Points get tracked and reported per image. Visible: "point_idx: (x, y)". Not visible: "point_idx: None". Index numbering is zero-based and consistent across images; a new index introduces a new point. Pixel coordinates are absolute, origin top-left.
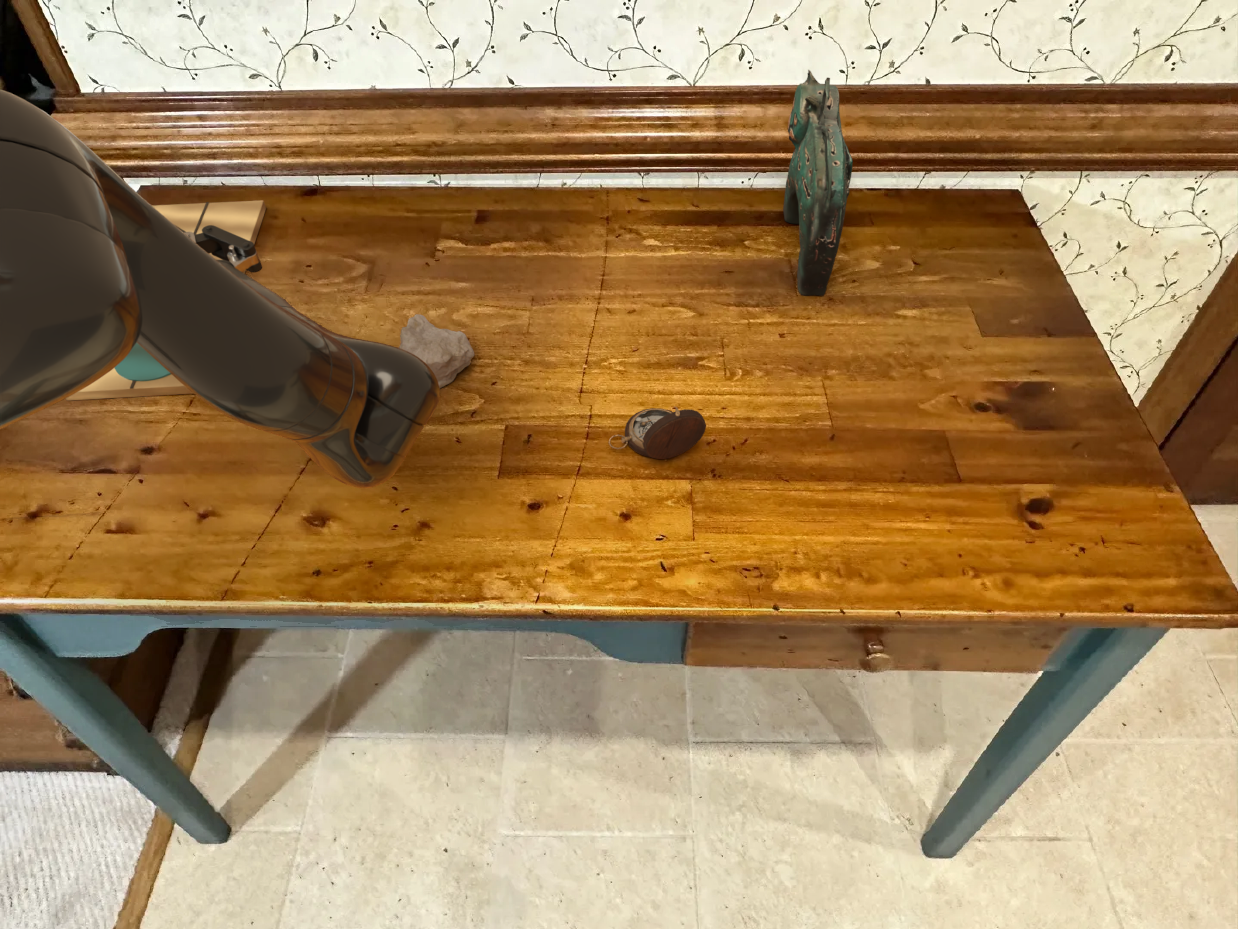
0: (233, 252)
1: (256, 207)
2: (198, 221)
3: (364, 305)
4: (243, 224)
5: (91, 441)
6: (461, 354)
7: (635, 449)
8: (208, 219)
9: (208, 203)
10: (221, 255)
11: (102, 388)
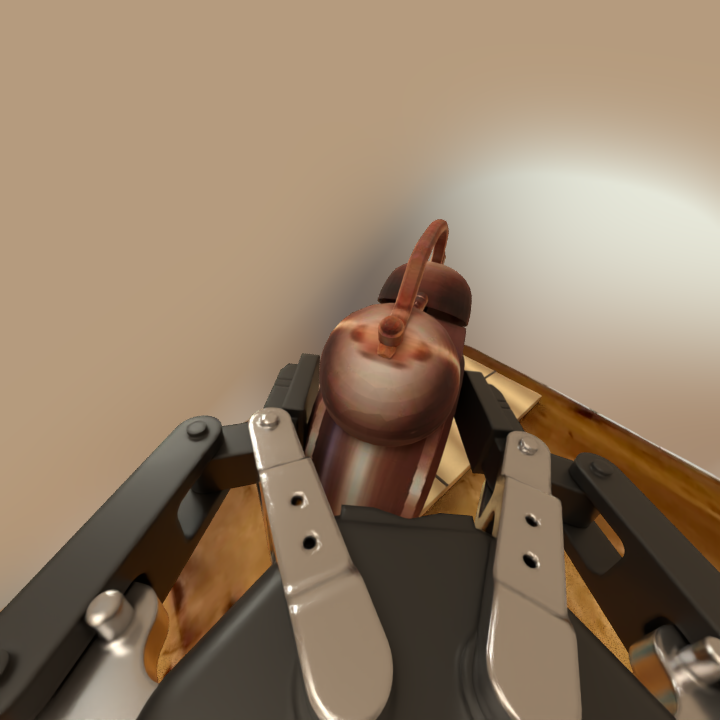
0: (714, 681)
1: (532, 397)
2: None
3: None
4: (514, 404)
5: (224, 525)
6: None
7: None
8: (488, 383)
9: (495, 372)
10: (580, 555)
11: None
